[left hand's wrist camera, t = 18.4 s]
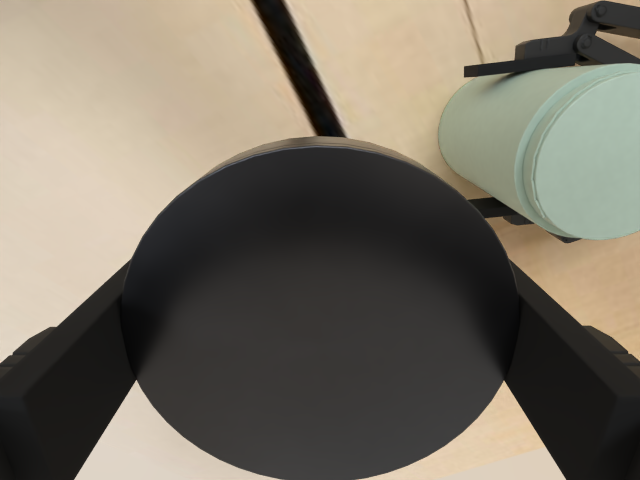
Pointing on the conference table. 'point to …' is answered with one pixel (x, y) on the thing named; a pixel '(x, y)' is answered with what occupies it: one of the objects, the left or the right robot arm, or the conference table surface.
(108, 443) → the conference table surface
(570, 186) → the jar
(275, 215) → the lid
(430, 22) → the conference table surface
